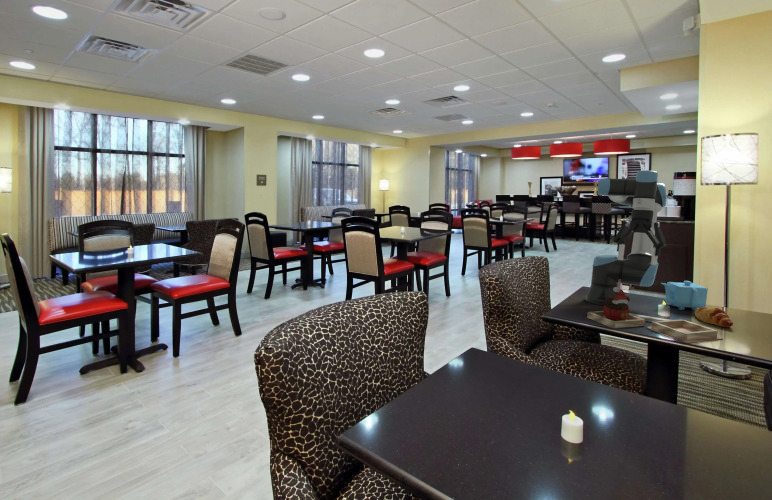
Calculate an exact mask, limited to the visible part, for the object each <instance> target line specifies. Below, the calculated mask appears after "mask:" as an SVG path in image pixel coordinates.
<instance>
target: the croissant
mask: <svg viewBox="0 0 772 500" xmlns="http://www.w3.org/2000/svg"><path fill="white" fill-rule="evenodd" d="M693 311H694V316H695V317H696V318H697V320H699V321H701V322H704V323H707V324H711V325H714V326H718V327H721V328H722V327H723V328H730V327H732V326H734V322H733V321H732V320H731V319H730V316H729V315H728V314H727V313H726V311H725V310H723V309H721V308H719V307H706V306H705V307H702V308H697V309H696V310H693Z"/></svg>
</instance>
